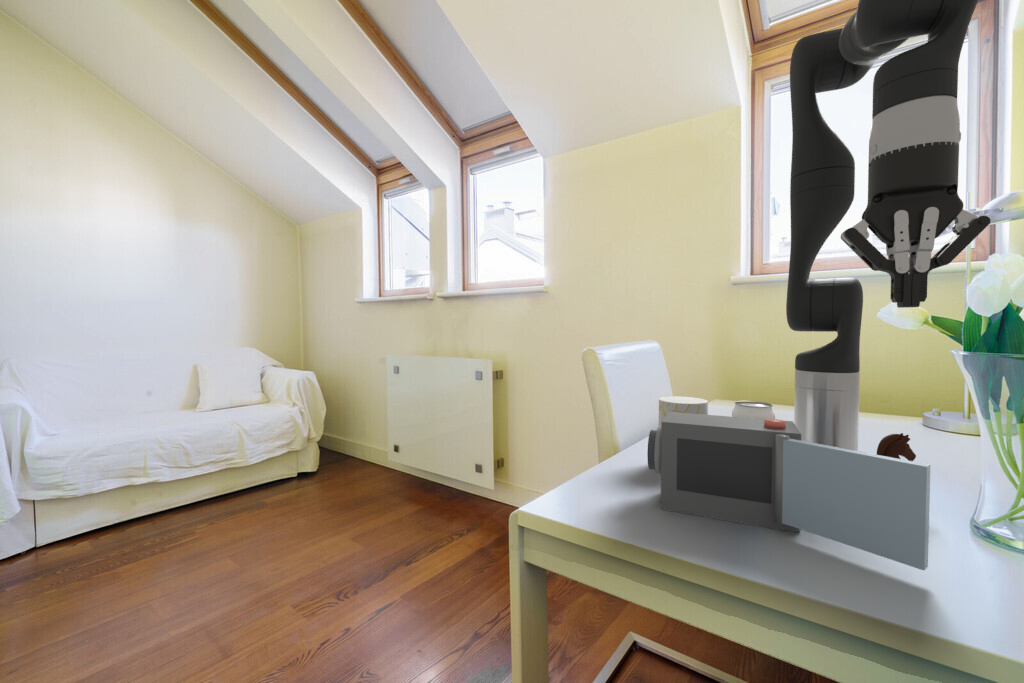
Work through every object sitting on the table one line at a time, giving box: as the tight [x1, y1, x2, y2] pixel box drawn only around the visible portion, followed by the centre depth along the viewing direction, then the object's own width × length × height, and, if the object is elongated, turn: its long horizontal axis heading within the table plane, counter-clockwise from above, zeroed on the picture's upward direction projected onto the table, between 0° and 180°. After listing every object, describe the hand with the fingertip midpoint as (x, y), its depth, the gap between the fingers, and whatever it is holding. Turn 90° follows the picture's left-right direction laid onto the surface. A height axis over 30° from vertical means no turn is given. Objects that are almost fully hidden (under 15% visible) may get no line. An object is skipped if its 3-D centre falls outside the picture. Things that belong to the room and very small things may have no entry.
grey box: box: [647, 412, 801, 534], centre depth 61 cm, size 8×18×13 cm, turn 64°
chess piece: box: [876, 432, 917, 462], centre depth 61 cm, size 5×5×10 cm
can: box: [731, 400, 776, 419], centre depth 74 cm, size 6×6×12 cm
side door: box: [774, 434, 931, 571], centre depth 48 cm, size 2×14×11 cm, turn 35°
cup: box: [658, 395, 709, 427], centre depth 79 cm, size 8×8×12 cm
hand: (907, 307), depth 50 cm, fingers closed
